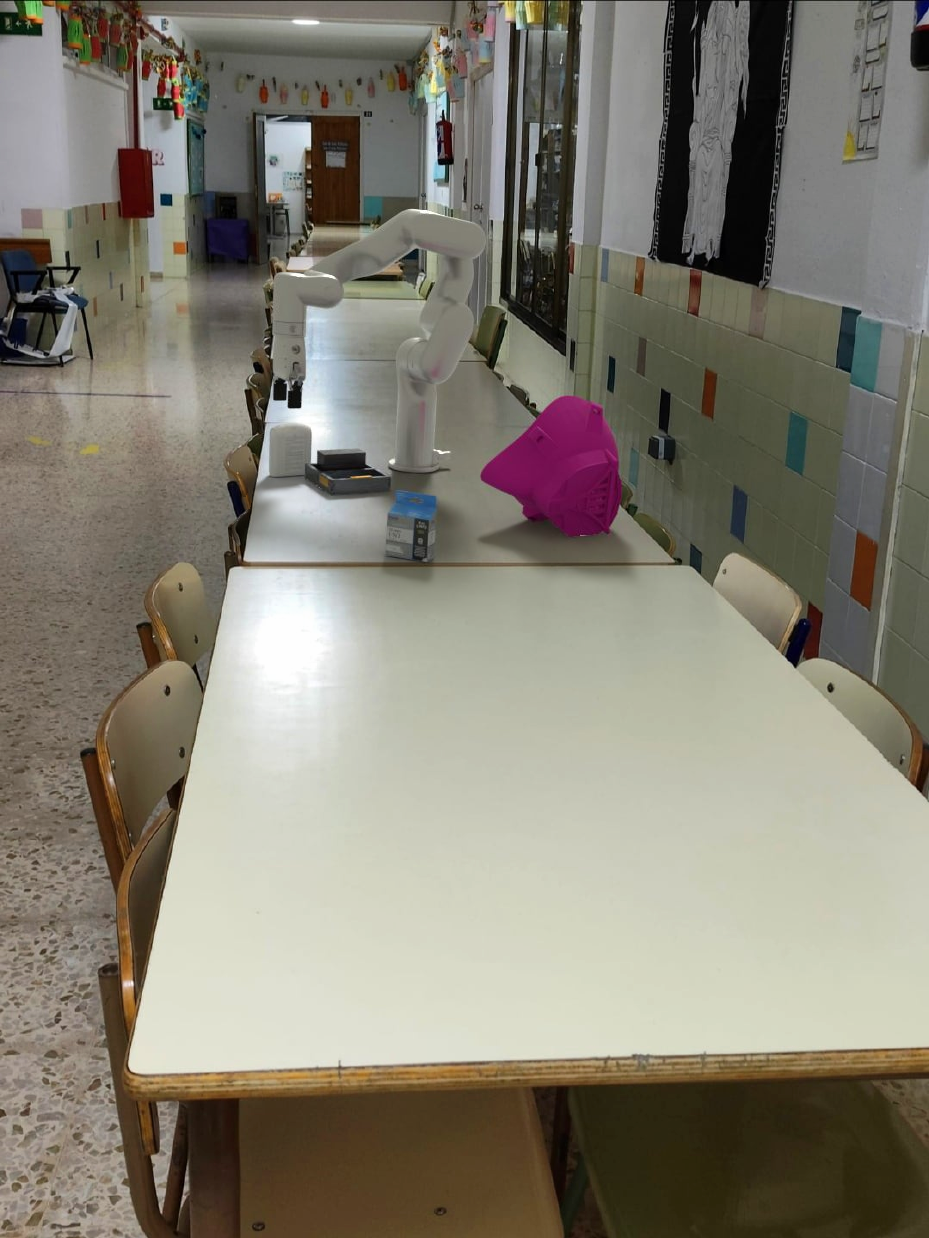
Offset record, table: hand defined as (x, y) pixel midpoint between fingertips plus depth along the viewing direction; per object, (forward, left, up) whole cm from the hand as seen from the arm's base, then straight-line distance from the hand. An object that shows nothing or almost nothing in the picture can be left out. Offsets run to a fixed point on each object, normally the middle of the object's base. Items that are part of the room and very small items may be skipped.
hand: (286, 404), depth 279 cm
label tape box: (-1, +67, -17) cm, 69 cm away
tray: (-10, +12, -17) cm, 23 cm away
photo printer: (-1, 0, -17) cm, 17 cm away
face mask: (-39, +57, -17) cm, 71 cm away
